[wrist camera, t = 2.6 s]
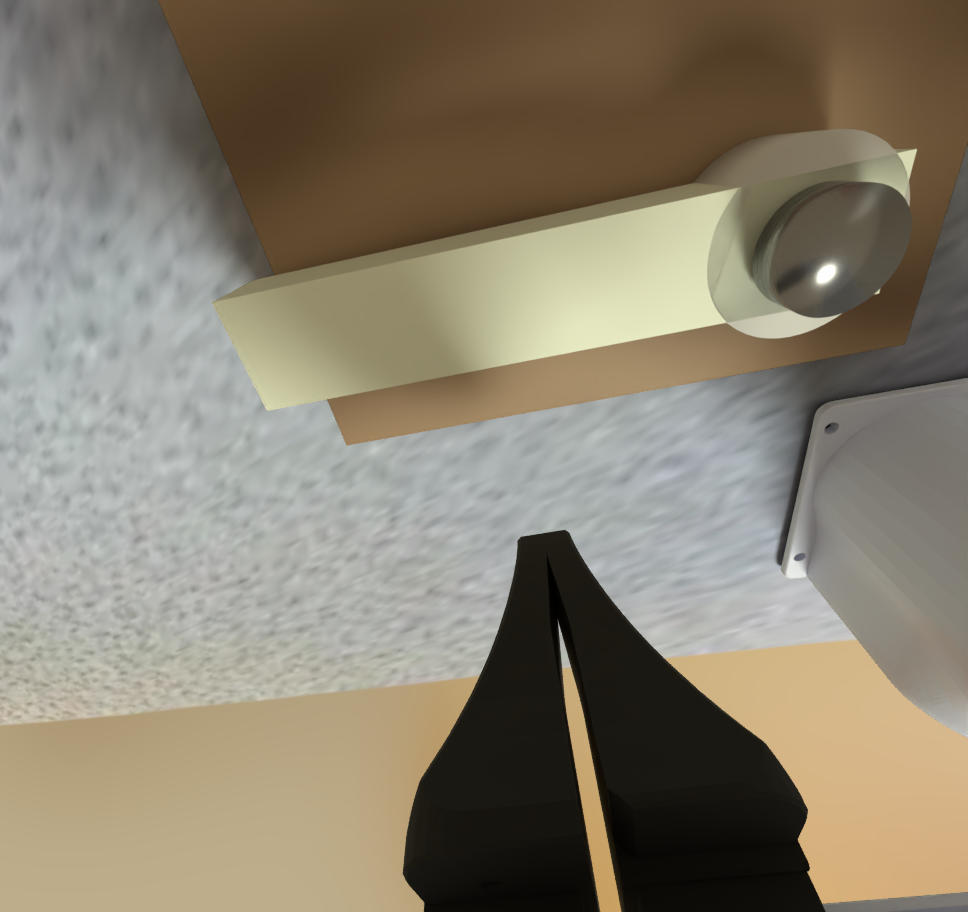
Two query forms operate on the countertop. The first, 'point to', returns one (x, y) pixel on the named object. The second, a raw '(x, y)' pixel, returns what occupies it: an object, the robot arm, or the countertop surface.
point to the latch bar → (546, 279)
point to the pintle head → (832, 246)
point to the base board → (561, 146)
